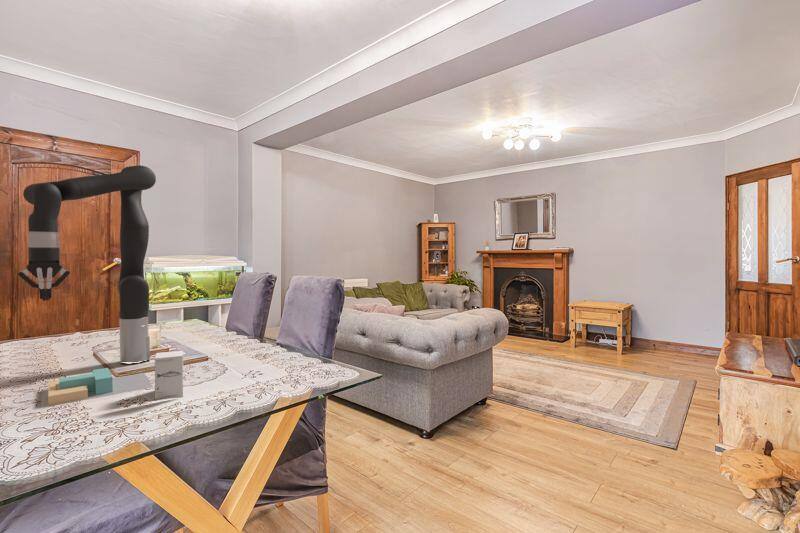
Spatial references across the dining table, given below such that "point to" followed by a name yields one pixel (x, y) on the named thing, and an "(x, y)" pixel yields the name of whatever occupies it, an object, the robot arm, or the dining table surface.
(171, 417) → the dining table surface
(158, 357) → the supplement box
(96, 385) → the tee block
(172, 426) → the dining table surface
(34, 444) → the dining table surface
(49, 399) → the slot board
